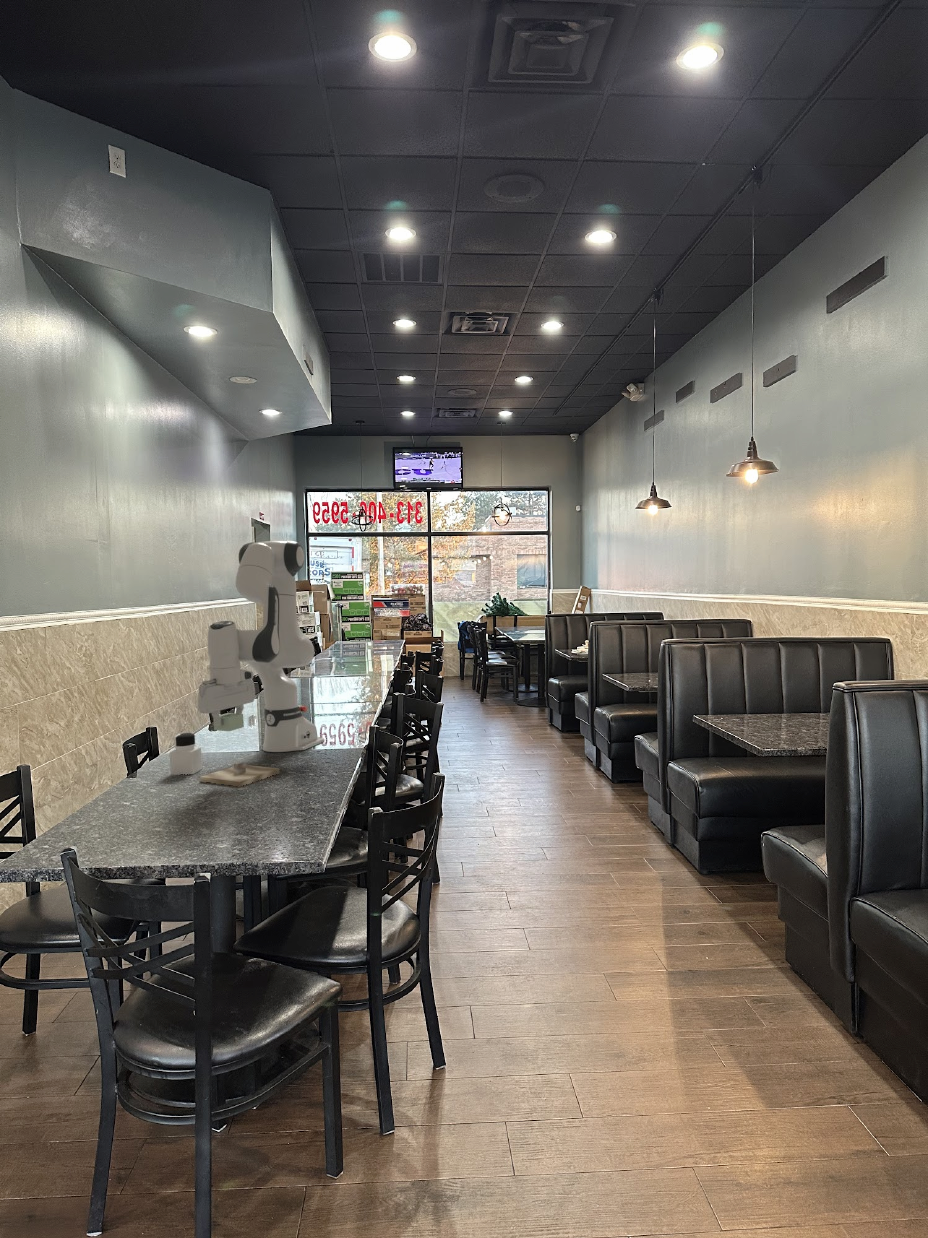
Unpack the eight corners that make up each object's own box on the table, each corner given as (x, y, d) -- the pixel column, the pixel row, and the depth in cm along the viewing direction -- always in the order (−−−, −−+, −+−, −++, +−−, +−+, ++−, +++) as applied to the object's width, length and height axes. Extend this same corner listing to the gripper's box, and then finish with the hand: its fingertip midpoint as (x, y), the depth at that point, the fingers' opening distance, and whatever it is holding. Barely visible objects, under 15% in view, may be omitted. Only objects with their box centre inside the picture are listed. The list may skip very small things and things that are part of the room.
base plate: (240, 769, 246) (240, 754, 246) (279, 773, 238) (278, 758, 238) (200, 781, 232) (199, 766, 232) (239, 787, 224) (238, 771, 224)
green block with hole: (228, 726, 238) (227, 713, 237) (243, 727, 235) (243, 713, 235) (214, 730, 232) (213, 716, 232) (229, 731, 230) (228, 717, 229)
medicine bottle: (202, 769, 248) (200, 731, 248) (192, 775, 241) (190, 736, 240) (180, 769, 249) (178, 731, 248) (170, 775, 242) (167, 736, 241)
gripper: (207, 682, 222) (210, 731, 223) (257, 672, 240) (260, 716, 241) (190, 681, 225) (194, 729, 226) (241, 671, 243) (244, 716, 244)
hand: (228, 723), depth 234 cm, fingers closed on green block with hole, 6 cm apart
